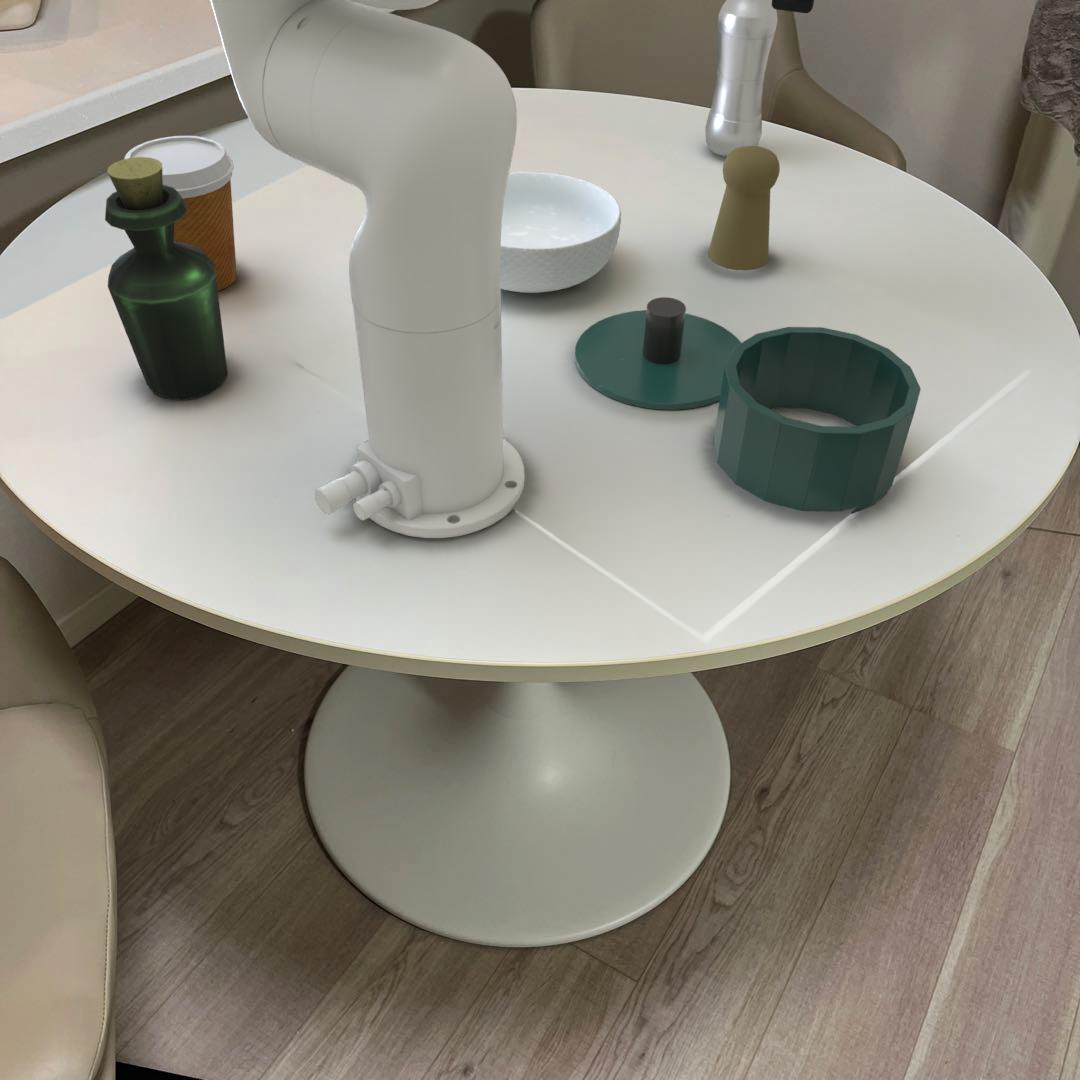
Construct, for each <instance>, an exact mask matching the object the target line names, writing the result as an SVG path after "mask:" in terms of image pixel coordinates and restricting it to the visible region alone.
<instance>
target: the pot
mask: <svg viewBox="0 0 1080 1080" xmlns="http://www.w3.org/2000/svg"><path fill="white" fill-rule="evenodd" d="M915 375H916V374H915V373H914V371H913V368H912V367H911V366H910V365H909V364H908V363H906V361H904V360H903V359H902V358H901V357H899V356H898V355H897V354H896V353H894V352H893V351H892V350H891V349H890V348H887V346H883V345H881V344H879V343H876V342H874V341H872V340H870V339H867V338H865V337H863V336H861V335H859V334H856V333H850V332H847V331H841V330H837V329H831V328H827V327H823V326H822V327H821V326H819V327H818V326H787V327H786V326H785V327H780V328H776V329H772V330H767V331H764V332H763V331H762V332H758V333H756V334H754V335H752V336H750V337H749V338H747V339H745V340H744V341H742V342H741V343H740V344H739V345H737V346H736V347H735V348H734V349H733V351H732V353H731V355H730V357H729V359H728V361H727V362H726V364H725V368H724V375H723V381H722V388H721V394H720V401H718V408H717V415H716V421H715V428H714V433H713V434H714V435H713V441H712V444H713V448H714V454H715V458H716V463H717V464H718V466H719V467H720V468H721V469H722V470H723V471H724V472H725V474H726V475H727V476H728V477H729V479H731V480H732V482H733V483H734V484H735V485H736V486H737V487H740V488H741V489H743V490H745V491H747V492H748V493H750V494H752V495H753V496H755V497H757V498H759V499H760V500H762V501H764V502H765V503H766V502H767V503H770V504H772V505H773V504H774V505H777V506H782V507H786V508H789V509H792V510H795V511H796V510H797V511H801V512H843V511H848V510H851V509H854V510H852V511H851V512H850V514H853V513H854V514H855V513H857V512H861V511H863V510H865V509H868V508H870V507H872V506H874V505H876V503H878V502H879V501H880V500H881V499H882V498H884V497H885V496H886V495H887V494H888V492H889V491H890V489H891V487H892V486H893V483H894V480H895V477H896V475H897V474H896V473H897V470H898V467H899V464H900V461H901V457H902V455H903V451H904V448H905V445H906V441H907V439H908V438H907V437H908V435H909V432H910V428H911V425H912V421H913V418H914V416H915V412H916V409H917V404H918V402H919V397H920V394H921V390H922V389H921V386H920V383H919V382H918V380H917V378H916V376H915ZM775 408H776V409H777V408H779V409H780V408H781V409H782V408H784V409H785V408H787V409H790V408H791V409H793V408H794V409H800V408H801V409H808V410H813V411H818V412H821V413H827V414H830V415H834V416H837V417H839V418H841V419H842V420H845V421H847V422H849V423H851V424H853V425H855V426H848V425H847V426H842V425H839V426H837V425H835V426H834V425H832V426H831V425H820V424H815V423H810V422H806V421H803V420H798V419H793V418H790V417H786V416H784V415H782V414H780V413H779V412H776V411H774V410H772V409H775Z"/></svg>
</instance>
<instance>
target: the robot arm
mask: <svg viewBox="0 0 1080 1080" xmlns="http://www.w3.org/2000/svg"><path fill="white" fill-rule="evenodd" d="M438 1H440V0H210V3H211V7H212V10H213V13H214V17H215V21H216V24H217V28H218V32H219V36H220V39H221V43H222V46H223V50H224V53H225V57H226V61H227V63H228V67H229V71H230V74H231V78H232V80H233V81H232V82H233V84H234V87H235V90H236V92H237V95H238V99H239V101H240V103H241V106H242V108H243V110H244V113H245V114H246V116H247V118H248V120H249V122H250V123H251V125H252V126H253V128H254V129H255V130H256V132H257V133H258V134H259V136H261V137H262V139H263V140H264V141H265V142H266V143H268V144H269V145H270V146H271V147H272V148H274V149H275V150H277V151H278V152H280V153H281V154H284V155H285V156H287V157H289V158H291V159H293V160H295V161H297V162H299V163H301V164H304V165H306V166H309V167H312V168H313V169H316V170H317V171H320V172H323V173H325V174H327V175H330V176H332V177H335V178H337V179H339V180H341V181H342V182H344V183H346V184H349V185H351V186H354V187H356V188H357V189H359V190H360V191H361V193H362V194H363V196H364V200H365V204H366V205H365V213H364V216H363V218H362V221H361V223H360V226H359V228H358V230H357V231H356V234H355V236H354V239H353V241H352V243H351V247H350V251H349V259H348V278H349V288H350V299H351V304H352V309H353V317H354V326H355V334H356V342H357V352H358V359H359V368H360V377H361V384H362V392H363V401H364V410H365V418H366V427H367V435H368V440H365V441H364V442H362V443H360V444H358V445H357V446H356V454H357V460H356V462H355V463H354V464H352V465H351V466H350V467H349V468H348V474H346V475H343V476H342V477H340V478H335V479H333V480H331V481H330V482H328V483H326V484H324V485H322V486H320V487H318V488H316V489H314V492H313V495H314V500H315V502H316V505H317V506H318V508H319V509H320V510H321V512H323V513H324V514H325V515H328V516H329V515H331V514H333V513H335V512H337V511H339V510H340V509H342V508H343V507H346V506H347V505H349V504H350V503H352V501H353V500H355V502H354V503H352V509H353V512H354V514H355V515H356V517H357V518H358V519H359V520H361V521H365V520H367V519H370V520H371V521H372V522H374V523H376V524H377V525H378V526H380V527H383V528H384V529H386V530H388V531H389V530H390V531H392V532H394V533H397V534H401V535H404V536H409V537H414V538H421V539H423V538H424V539H445V538H447V539H448V538H455V537H461V536H465V535H469V534H472V533H476V532H479V531H481V530H484V529H486V528H488V527H490V526H493V525H494V524H495V523H497V522H499V521H500V520H502V519H504V518H505V517H506V516H507V515H508V514H510V512H511V511H512V510H514V506H515V504H516V503H517V502H518V500H519V499H520V497H521V496H522V493H523V491H524V488H525V478H526V474H525V464H524V462H523V459H522V457H521V454H520V453H519V452H518V451H517V449H516V448H515V446H514V445H513V444H511V443H510V442H509V441H508V440H507V439H505V438H504V419H503V418H504V412H503V411H504V410H503V409H504V407H503V406H504V405H503V404H504V403H503V342H502V340H503V338H502V331H503V330H502V289H501V229H502V216H503V207H504V199H505V193H506V187H507V181H508V176H509V173H510V170H511V165H512V160H513V155H514V150H515V145H516V139H517V127H518V113H517V111H518V110H517V103H516V99H515V95H514V92H513V89H512V86H511V84H510V82H509V80H508V78H507V76H506V74H505V73H504V71H503V69H502V68H501V67H500V66H499V64H498V63H497V62H496V61H495V60H494V59H493V57H492V56H490V55H489V54H488V53H487V52H486V51H485V50H484V49H482V48H481V47H479V46H478V45H476V44H474V43H473V42H471V41H469V40H467V39H465V38H464V37H462V36H460V35H458V34H456V33H453V32H451V31H448V30H446V29H443V28H440V27H436V26H433V25H430V24H426V23H423V22H420V21H416V20H413V19H410V18H407V17H403V16H400V15H397V14H394V13H390V12H384V11H380V10H376V9H386V10H394V11H407V10H409V11H410V10H416V9H417V10H418V9H423V8H426V7H429V6H431V5H433V4H435V3H436V2H438ZM359 4H360V5H359ZM814 5H815V0H772V7H773V8H774V9H776V11H777V10H778V11H785V12H794V13H799V14H809V13H811V11H812V10H813V9H814ZM366 6H368V7H366ZM369 7H372V8H369ZM373 8H376V9H373Z"/></svg>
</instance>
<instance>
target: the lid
mask: <svg viewBox="0 0 1080 1080" xmlns="http://www.w3.org/2000/svg"><path fill="white" fill-rule="evenodd" d="M686 312H687V307H686V305H685V303H684V302H682V300H679V299H676V298H673V297H668V296H667V297H666V296H662V297H656V298H653V299H651V300H649V301H648V303H647V304H646V309H644V310H643V309H642V310H632V311H626V312H621V313H618V314H614V315H611V316H608V317H605V318H602V319H600V320H599V321H597V322H595V323H593V324H592V325H590V326H589V327H587V329H585V330H584V331H583V332H582V334H581V335H580V336H579V338H578V339H577V341H576V345H575V348H574V363H575V367H576V369H577V371H578V373H579V375H580V376H581V377H582V379H583V380H584V381H585V382H586V383H587V384H588V385H589V386H591V387H592V388H593V389H594V390H596V391H597V392H599V393H601V394H602V395H604V396H606V397H608V398H610V399H612V400H615V401H618V402H620V403H623V404H627V405H629V406H633V407H634V406H635V407H638V408H642V409H643V408H644V409H652V410H661V411H662V410H663V411H679V410H688V409H696V408H701V407H705V406H708V405H712V404H715V403H717V402H719V401H720V394H721V388H722V381H723V375H724V368H725V364H726V362H727V361H728V359H729V357H730V355H731V353H732V351H733V349H734V348H735V347H736V346H737V345H739V344H740V343H742V342H741V341H740V339H739V338H738V337H737V336H736V335H734V334H733V333H732V332H731V331H729V330H728V329H726V328H725V327H724V326H722V325H720V324H718V323H716V322H715V321H711V320H709V319H707V318H704V317H700V316H698V315H693V314H689V313H686Z"/></svg>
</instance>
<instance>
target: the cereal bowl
mask: <svg viewBox="0 0 1080 1080" xmlns="http://www.w3.org/2000/svg"><path fill="white" fill-rule="evenodd" d="M621 223H622V211H621V206H620V204H619V202H618V201H617V199H616V198H615V197H614V196H613V195H612V194H611V193H610V192H608V191H607V190H606V189H604V188H602V187H601V186H599V185H597V184H595V183H592V182H590V181H587V180H584V179H581V178H578V177H574V176H570V175H565V174H560V173H553V172H543V171H513V172H509V176H508V181H507V187H506V193H505V199H504V207H503V216H502V229H501V290H503V291H510V292H515V293H522V294H540V293H548V292H554V291H560V290H563V289H564V290H565V289H568V288H571V287H574V286H577V285H579V284H581V283H583V282H585V281H587V280H590V279H591V278H592V277H593V276H595V275H597V274H598V272H600V271H601V270H602V269H603V268H604V267H605V266H606V265H607V263H609V261H610V259H611V258H612V256H613V253H614V252H615V250H616V246H617V245H618V240H619V237H620V231H621Z"/></svg>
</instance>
